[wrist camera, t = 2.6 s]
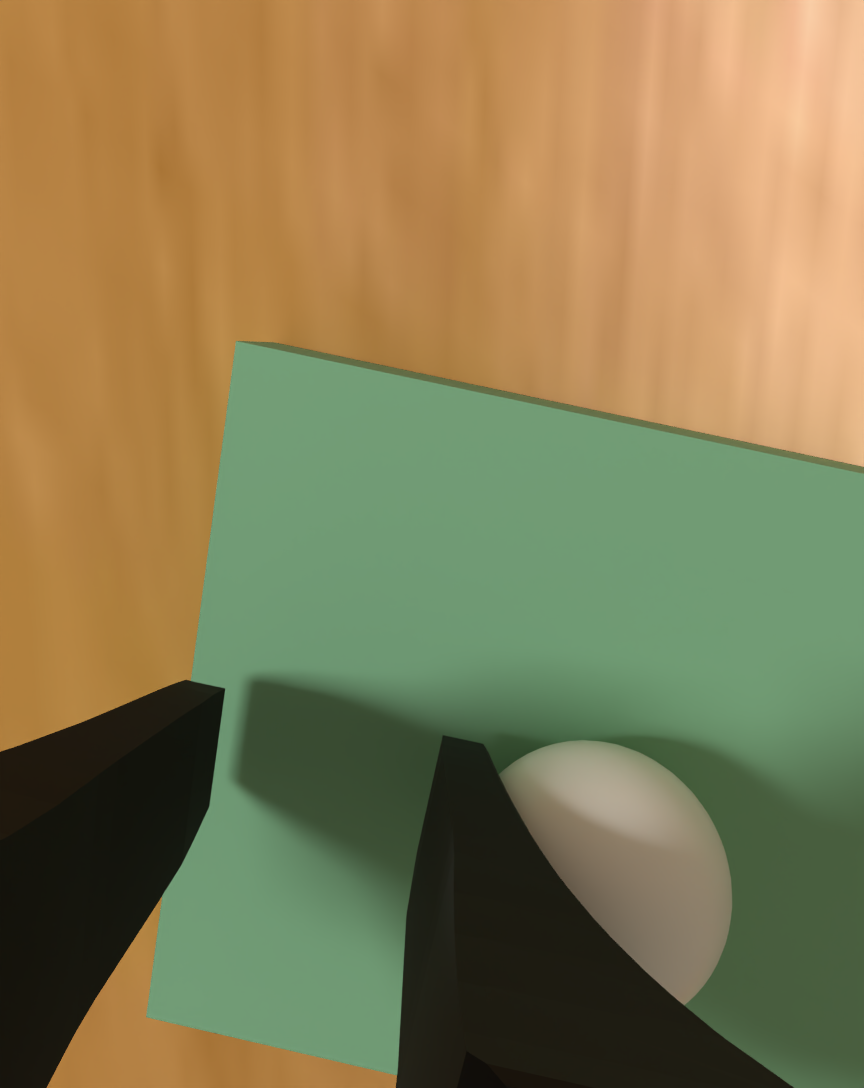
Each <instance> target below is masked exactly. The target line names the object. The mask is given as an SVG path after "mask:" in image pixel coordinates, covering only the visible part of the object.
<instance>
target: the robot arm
mask: <svg viewBox="0 0 864 1088" xmlns="http://www.w3.org/2000/svg"><path fill="white" fill-rule="evenodd" d="M224 695H225V688H221V687H217V686H212V685H207V684H203V683H198V682H193V681H189V680H184V681H181V682H178V683H175V684H172V685H170V686H167V687H165V688H162V689H160V690H157V691H155V692H153V693H150V694H148V695H146V696H143V697H141V698H139V699H136V700H134V701H132V702H129V703H127V704H125V705H122V706H120V707H118V708H115V709H113V710H110V711H108V712H106V713H103V714H101V715H99V716H96V717H94V718H91V719H89V720H87V721H84V722H82V723H79V724H76V725H74V726H71V727H68V728H66V729H63V730H60V731H57V732H55V733H52V734H49V735H47V736H44V737H41V738H39V739H36V740H33V741H30V742H28V743H25V744H22V745H20V746H17V747H14V748H11V749H8V750H4V751H1V752H0V1088H46V1087H47V1086H48V1084H49V1082H50V1080H51V1078H52V1076H53V1074H54V1072H55V1070H56V1068H57V1066H58V1065H59V1063H60V1061H61V1059H62V1057H63V1055H64V1053H65V1051H66V1049H67V1047H68V1045H69V1043H70V1042H71V1040H72V1038H73V1036H74V1034H75V1032H76V1030H77V1029H78V1027H79V1025H80V1024H81V1022H82V1020H83V1019H84V1017H85V1015H86V1014H87V1012H88V1010H89V1009H90V1007H91V1005H92V1003H93V1002H94V1000H95V998H96V997H97V995H98V994H99V992H100V991H101V989H102V988H103V986H104V985H105V983H106V982H107V980H108V978H109V977H110V975H111V974H112V972H113V971H114V969H115V968H116V966H117V965H118V963H119V962H120V960H121V958H122V957H123V955H124V954H125V952H126V951H127V949H128V948H129V946H130V945H131V943H132V942H133V940H134V938H135V937H136V935H137V934H138V932H139V931H140V929H141V928H142V926H143V925H144V923H145V922H146V920H147V918H148V917H149V915H150V914H151V912H152V911H153V909H154V908H155V906H156V905H157V903H158V901H159V900H160V898H161V897H162V895H163V894H164V892H165V891H166V889H167V887H168V886H169V884H170V883H171V881H172V880H173V878H174V876H175V875H176V873H177V872H178V870H179V868H180V867H181V865H182V863H183V861H184V859H185V857H186V855H187V853H188V851H189V849H190V847H191V845H192V843H193V841H194V839H195V837H196V834H197V832H198V830H199V828H200V826H201V824H202V821H203V819H204V817H205V815H206V813H207V811H208V809H209V806H210V798H211V791H212V783H213V776H214V769H215V761H216V754H217V747H218V739H219V732H220V724H221V717H222V710H223V702H224ZM396 1088H794V1087H793V1086H791V1085H790V1084H788V1083H787V1082H785V1081H784V1080H783V1079H781V1078H780V1077H778V1076H777V1075H776V1074H774V1073H773V1072H771V1071H770V1070H769V1069H767V1068H766V1067H764V1066H763V1065H762V1064H760V1063H759V1062H757V1061H756V1060H755V1059H753V1058H752V1057H750V1056H749V1055H748V1054H746V1053H745V1052H743V1051H742V1050H741V1049H739V1048H738V1047H736V1046H735V1045H733V1044H732V1043H731V1042H729V1041H728V1040H726V1039H725V1038H724V1037H722V1036H721V1035H720V1034H719V1033H717V1032H716V1031H715V1030H713V1029H712V1028H711V1027H710V1026H709V1025H707V1024H706V1023H705V1022H704V1021H703V1020H701V1019H700V1018H699V1017H698V1016H697V1015H695V1014H694V1013H693V1012H692V1011H690V1010H689V1009H688V1008H687V1007H686V1006H684V1005H683V1004H682V1003H681V1002H680V1001H678V1000H677V999H676V998H675V997H674V996H672V995H671V994H670V993H669V992H668V991H667V990H666V989H665V988H663V987H662V986H661V985H660V984H659V983H658V982H657V981H656V980H655V979H653V978H652V977H651V976H650V975H649V974H648V973H647V972H646V971H645V970H644V969H643V968H642V967H641V966H640V965H639V964H638V963H637V962H636V961H635V960H634V959H633V958H632V957H630V956H629V955H628V954H627V953H626V952H625V951H624V950H623V949H622V948H621V947H620V946H619V945H618V944H617V943H616V942H615V941H614V940H613V939H612V938H611V937H610V936H609V934H608V933H607V932H606V931H605V930H604V929H603V928H602V927H601V926H600V925H599V924H598V923H597V921H596V920H595V919H594V918H593V917H592V916H591V915H590V913H589V912H588V911H587V910H586V909H585V907H584V906H583V905H582V904H581V903H580V901H579V900H578V899H577V898H576V897H575V895H574V894H573V893H572V892H571V891H570V889H569V888H568V887H567V886H566V885H565V883H564V882H563V881H562V879H561V878H560V877H559V875H558V874H557V873H556V871H555V870H554V869H553V867H552V866H551V864H550V863H549V861H548V860H547V858H546V857H545V855H544V854H543V853H542V851H541V850H540V848H539V846H538V845H537V843H536V842H535V840H534V838H533V837H532V835H531V834H530V832H529V830H528V828H527V827H526V825H525V823H524V821H523V820H522V818H521V816H520V814H519V813H518V811H517V809H516V808H515V806H514V804H513V802H512V800H511V798H510V796H509V794H508V793H507V791H506V789H505V787H504V785H503V783H502V781H501V779H500V776H499V774H498V772H497V770H496V768H495V766H494V764H493V761H492V759H491V757H490V754H489V752H488V751H487V749H486V747H485V746H484V744H482V743H477V742H473V741H468V740H463V739H459V738H454V737H449V736H445V735H443V736H442V741H441V745H440V750H439V754H438V759H437V763H436V768H435V772H434V777H433V781H432V786H431V791H430V795H429V800H428V804H427V809H426V813H425V818H424V822H423V827H422V831H421V836H420V840H419V845H418V849H417V854H416V860H415V866H414V872H413V878H412V884H411V890H410V896H409V902H408V908H407V914H406V930H405V947H404V965H403V983H402V1001H401V1020H400V1038H399V1056H398V1071H397V1082H396Z"/></svg>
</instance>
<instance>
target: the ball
mask: <svg viewBox="0 0 864 1088" xmlns="http://www.w3.org/2000/svg"><path fill="white" fill-rule="evenodd" d="M499 776H500V779H501V781H502V783H503V785H504V787H505V789H506V791H507V793H508V794H509V796H510V798H511V800H512V802H513V804H514V806H515V808H516V809H517V811H518V813H519V814H520V816H521V818H522V820H523V821H524V823H525V825H526V827H527V828H528V830H529V832H530V834H531V835H532V837H533V838H534V840H535V842H536V843H537V845H538V846H539V848H540V850H541V851H542V853H543V854H544V855H545V857H546V858H547V860H548V861H549V863H550V864H551V866H552V867H553V869H554V870H555V871H556V873H557V874H558V875H559V877H560V878H561V879H562V881H563V882H564V883H565V885H566V886H567V887H568V888H569V889H570V891H571V892H572V893H573V894H574V895H575V897H576V898H577V899H578V900H579V901H580V903H581V904H582V905H583V906H584V907H585V909H586V910H587V911H588V912H589V913H590V915H591V916H592V917H593V918H594V919H595V920H596V921H597V923H598V924H599V925H600V926H601V927H602V928H603V929H604V930H605V931H606V932H607V933H608V934H609V936H610V937H611V938H612V939H613V940H614V941H615V942H616V943H617V944H618V945H619V946H620V947H621V948H622V949H623V950H624V951H625V952H626V953H627V954H628V955H629V956H630V957H632V958H633V959H634V960H635V961H636V962H637V963H638V964H639V965H640V966H641V967H642V968H643V969H644V970H645V971H646V972H647V973H648V974H649V975H650V976H651V977H652V978H653V979H655V980H656V981H657V982H658V983H659V984H660V985H661V986H662V987H663V988H665V989H666V990H667V991H668V992H669V993H670V994H671V995H672V996H674V997H675V998H676V999H677V1000H678V1001H680V1002H681V1003H682V1004H683V1005H685V1004H686V1003H688V1002H689V1001H690V1000H691V999H692V998H693V997H694V996H695V995H696V994H697V993H698V992H699V991H700V989H701V988H702V987H703V986H704V985H705V983H706V982H707V980H708V979H709V978H710V976H711V975H712V973H713V971H714V969H715V967H716V965H717V963H718V961H719V959H720V957H721V954H722V952H723V949H724V947H725V944H726V940H727V936H728V933H729V927H730V921H731V913H732V886H731V876H730V870H729V865H728V861H727V857H726V853H725V850H724V847H723V844H722V841H721V839H720V836H719V834H718V832H717V830H716V828H715V826H714V824H713V822H712V820H711V818H710V816H709V814H708V813H707V812H706V810H705V809H704V807H703V806H702V804H701V803H700V802H699V800H698V799H697V798H696V796H695V795H694V794H693V792H692V791H691V790H690V789H689V788H688V787H687V786H686V785H685V784H684V783H683V782H682V781H681V780H680V779H679V778H677V777H676V776H675V775H674V774H673V773H672V772H671V771H669V770H668V769H666V768H665V767H663V766H662V765H661V764H659V763H658V762H656V761H655V760H653V759H651V758H649V757H647V756H645V755H643V754H642V753H640V752H637V751H634V750H632V749H629V748H626V747H623V746H620V745H617V744H612V743H607V742H601V741H587V740H577V741H566V742H561V743H555V744H552V745H548V746H545V747H542V748H539V749H537V750H535V751H533V752H530V753H528V754H526V755H525V756H523V757H521V758H520V759H518V760H516V761H515V762H513V763H512V764H511V765H509V766H508V767H507V768H505V769H504V770H503V771H502V772H501V773H500V774H499Z"/></svg>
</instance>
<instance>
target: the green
mask: <svg viewBox="0 0 864 1088" xmlns="http://www.w3.org/2000/svg"><path fill="white" fill-rule="evenodd" d="M191 681H193V682H198V683H203V684H207V685H212V686H217V687H221V688H225V695H224V702H223V710H222V717H221V724H220V732H219V739H218V747H217V754H216V761H215V769H214V776H213V783H212V791H211V798H210V806H209V809H208V811H207V813H206V815H205V817H204V819H203V821H202V824H201V826H200V828H199V830H198V832H197V834H196V837H195V839H194V841H193V843H192V845H191V847H190V849H189V851H188V853H187V855H186V857H185V859H184V861H183V863H182V865H181V867H180V868H179V870H178V872H177V873H176V875H175V876H174V878H173V880H172V881H171V883H170V884H169V886H168V887H167V889H166V891H165V892H164V894H163V895H162V903H161V910H160V918H159V925H158V933H157V940H156V948H155V955H154V963H153V970H152V978H151V986H150V993H149V1001H148V1008H147V1016H146V1017H148V1018H152V1019H156V1020H161V1021H165V1022H169V1023H174V1024H178V1025H182V1026H187V1027H191V1028H195V1029H200V1030H204V1031H208V1032H213V1033H217V1034H221V1035H225V1036H230V1037H234V1038H238V1039H243V1040H247V1041H251V1042H256V1043H260V1044H264V1045H269V1046H273V1047H277V1048H282V1049H286V1050H290V1051H294V1052H299V1053H303V1054H307V1055H312V1056H316V1057H320V1058H325V1059H329V1060H333V1061H338V1062H342V1063H346V1064H350V1065H355V1066H359V1067H363V1068H368V1069H372V1070H376V1071H381V1072H385V1073H389V1074H394V1075H397V1071H398V1056H399V1038H400V1020H401V1001H402V983H403V965H404V947H405V930H406V914H407V908H408V902H409V896H410V890H411V884H412V878H413V872H414V866H415V860H416V854H417V849H418V845H419V840H420V836H421V831H422V827H423V822H424V818H425V813H426V809H427V804H428V800H429V795H430V791H431V786H432V781H433V777H434V772H435V768H436V763H437V759H438V754H439V750H440V745H441V741H442V736H443V735H445V736H449V737H454V738H459V739H463V740H468V741H473V742H477V743H482V744H484V746H485V747H486V749H487V751H488V752H489V754H490V757H491V759H492V761H493V764H494V766H495V768H496V770H497V772H498V774H500V773H501V772H502V771H503V770H504V769H505V768H507V767H508V766H509V765H511V764H512V763H513V762H515V761H516V760H518V759H520V758H521V757H523V756H525V755H526V754H528V753H530V752H533V751H535V750H537V749H539V748H542V747H545V746H548V745H552V744H555V743H561V742H566V741H577V740H587V741H601V742H607V743H612V744H617V745H620V746H623V747H626V748H629V749H632V750H634V751H637V752H640V753H642V754H643V755H645V756H647V757H649V758H651V759H653V760H655V761H656V762H658V763H659V764H661V765H662V766H663V767H665V768H666V769H668V770H669V771H671V772H672V773H673V774H674V775H675V776H676V777H677V778H679V779H680V780H681V781H682V782H683V783H684V784H685V785H686V786H687V787H688V788H689V789H690V790H691V791H692V792H693V794H694V795H695V796H696V798H697V799H698V800H699V802H700V803H701V804H702V806H703V807H704V809H705V810H706V812H707V813H708V814H709V816H710V818H711V820H712V822H713V824H714V826H715V828H716V830H717V832H718V834H719V836H720V839H721V841H722V844H723V847H724V850H725V853H726V857H727V861H728V865H729V870H730V876H731V886H732V913H731V921H730V927H729V933H728V936H727V940H726V944H725V947H724V949H723V952H722V954H721V957H720V959H719V961H718V963H717V965H716V967H715V969H714V971H713V973H712V975H711V976H710V978H709V979H708V980H707V982H706V983H705V985H704V986H703V987H702V988H701V989H700V991H699V992H698V993H697V994H696V995H695V996H694V997H693V998H692V999H691V1000H690V1001H689V1002H688V1003H686V1004H685V1005H684V1006H686V1007H687V1008H688V1009H689V1010H690V1011H692V1012H693V1013H694V1014H695V1015H697V1016H698V1017H699V1018H700V1019H701V1020H703V1021H704V1022H705V1023H706V1024H707V1025H709V1026H710V1027H711V1028H712V1029H713V1030H715V1031H716V1032H717V1033H719V1034H720V1035H721V1036H722V1037H724V1038H725V1039H726V1040H728V1041H729V1042H731V1043H732V1044H733V1045H735V1046H736V1047H738V1048H739V1049H741V1050H742V1051H743V1052H745V1053H746V1054H748V1055H749V1056H750V1057H752V1058H753V1059H755V1060H756V1061H757V1062H759V1063H760V1064H762V1065H763V1066H764V1067H766V1068H767V1069H769V1070H770V1071H771V1072H773V1073H774V1074H776V1075H777V1076H778V1077H780V1078H781V1079H783V1080H784V1081H785V1082H787V1083H788V1084H790V1085H791V1086H793V1087H794V1088H864V467H861V466H856V465H852V464H847V463H842V462H837V461H833V460H828V459H823V458H818V457H814V456H809V455H804V454H800V453H795V452H790V451H785V450H781V449H776V448H771V447H766V446H762V445H757V444H752V443H748V442H743V441H738V440H733V439H729V438H724V437H719V436H714V435H710V434H705V433H700V432H695V431H691V430H686V429H681V428H677V427H672V426H667V425H662V424H658V423H653V422H648V421H643V420H639V419H634V418H629V417H625V416H620V415H615V414H610V413H606V412H601V411H596V410H591V409H587V408H582V407H577V406H573V405H568V404H563V403H558V402H554V401H549V400H544V399H539V398H535V397H530V396H525V395H520V394H516V393H511V392H506V391H502V390H497V389H492V388H487V387H483V386H478V385H473V384H468V383H464V382H459V381H454V380H450V379H445V378H440V377H435V376H431V375H426V374H421V373H416V372H412V371H407V370H402V369H397V368H393V367H388V366H383V365H379V364H374V363H369V362H364V361H360V360H355V359H350V358H345V357H341V356H336V355H331V354H327V353H322V352H317V351H312V350H308V349H303V348H298V347H293V346H289V345H284V344H279V343H273V342H248V341H236V346H235V353H234V361H233V369H232V376H231V384H230V391H229V399H228V406H227V414H226V421H225V429H224V436H223V444H222V451H221V459H220V466H219V474H218V481H217V489H216V496H215V504H214V511H213V519H212V527H211V534H210V542H209V549H208V557H207V564H206V572H205V579H204V587H203V594H202V602H201V609H200V617H199V624H198V632H197V639H196V647H195V654H194V662H193V669H192V677H191Z"/></svg>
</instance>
